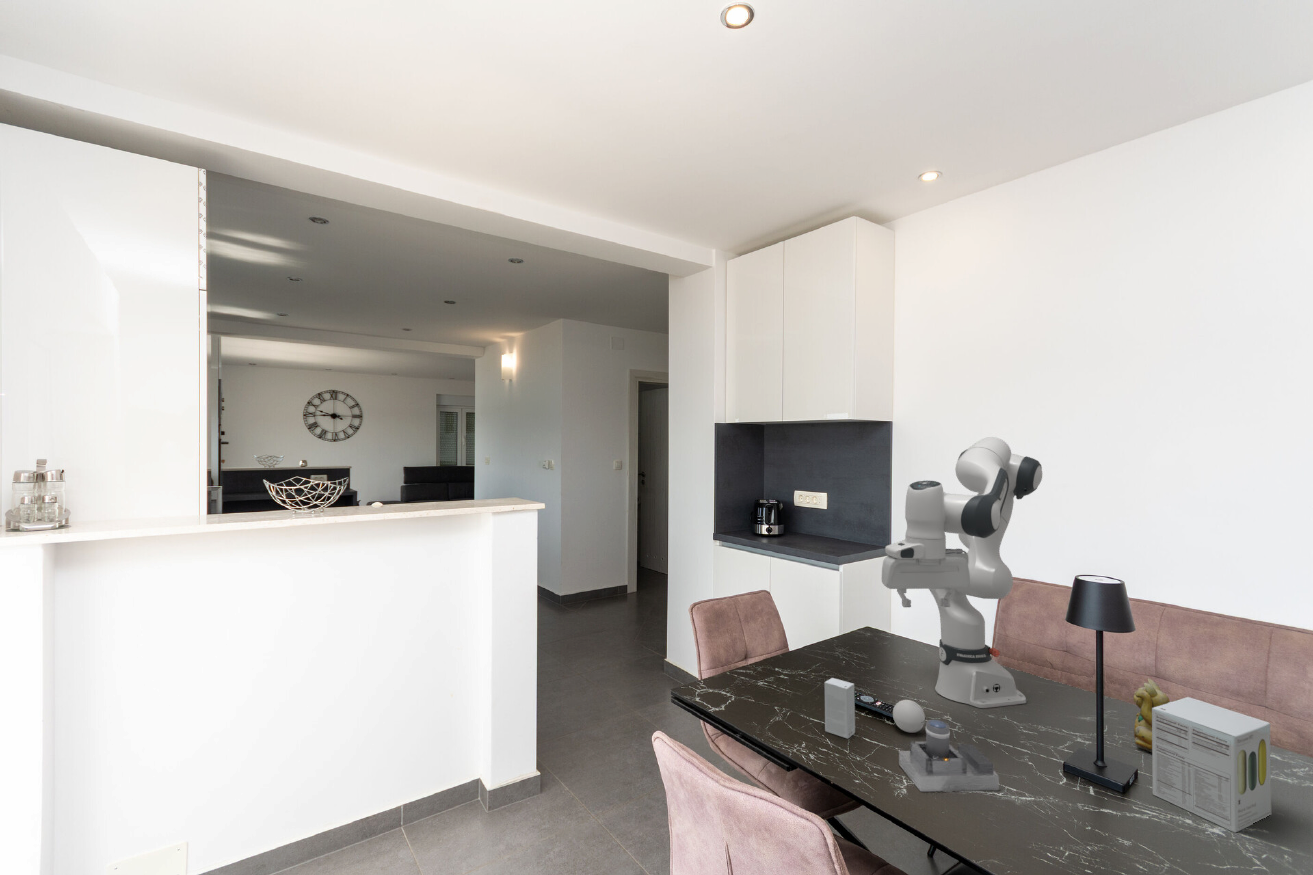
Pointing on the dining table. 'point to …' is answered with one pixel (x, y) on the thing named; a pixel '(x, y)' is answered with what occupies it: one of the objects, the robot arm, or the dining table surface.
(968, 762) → the grey holder dock
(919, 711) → the white egg
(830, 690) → the skincare box
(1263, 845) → the dining table surface
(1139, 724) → the decorative figurine
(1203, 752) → the supplement box
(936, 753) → the lens
